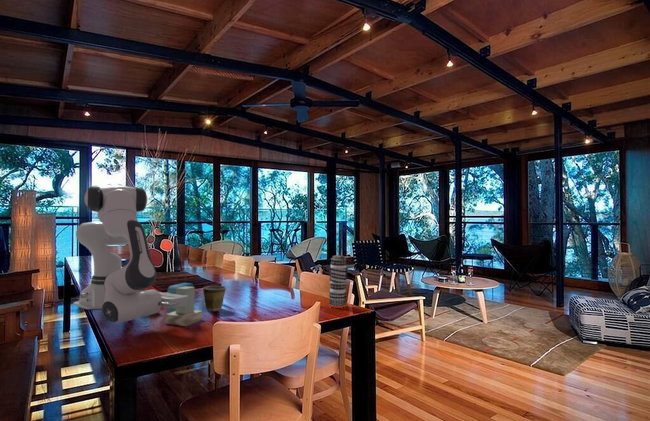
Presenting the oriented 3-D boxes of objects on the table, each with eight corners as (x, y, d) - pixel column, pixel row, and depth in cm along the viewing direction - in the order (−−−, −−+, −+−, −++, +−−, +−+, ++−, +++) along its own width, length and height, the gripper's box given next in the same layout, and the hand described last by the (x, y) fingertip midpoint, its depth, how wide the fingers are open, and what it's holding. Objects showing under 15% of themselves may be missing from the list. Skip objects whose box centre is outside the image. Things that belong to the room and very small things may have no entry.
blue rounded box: (175, 315, 158) (176, 287, 158) (166, 314, 159) (167, 286, 160) (193, 309, 169) (194, 282, 170) (184, 308, 171) (185, 282, 171)
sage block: (175, 313, 148) (176, 288, 149) (184, 310, 153) (185, 286, 153) (184, 314, 146) (185, 289, 146) (194, 311, 151) (194, 287, 151)
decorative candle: (344, 309, 176) (345, 257, 177) (325, 307, 179) (327, 256, 179) (348, 305, 185) (349, 255, 185) (330, 303, 188) (332, 254, 188)
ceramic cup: (228, 310, 169) (228, 288, 169) (206, 313, 163) (206, 290, 163) (218, 304, 179) (219, 283, 179) (197, 306, 174) (198, 285, 174)
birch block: (165, 324, 146) (165, 314, 146) (182, 318, 156) (182, 308, 156) (186, 327, 143) (186, 316, 143) (202, 320, 153) (202, 311, 153)
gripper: (171, 296, 129) (199, 290, 142) (129, 290, 137) (159, 285, 150) (170, 314, 129) (198, 306, 142) (129, 307, 137) (158, 300, 150)
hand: (178, 295), depth 146 cm, fingers open, 8 cm apart
